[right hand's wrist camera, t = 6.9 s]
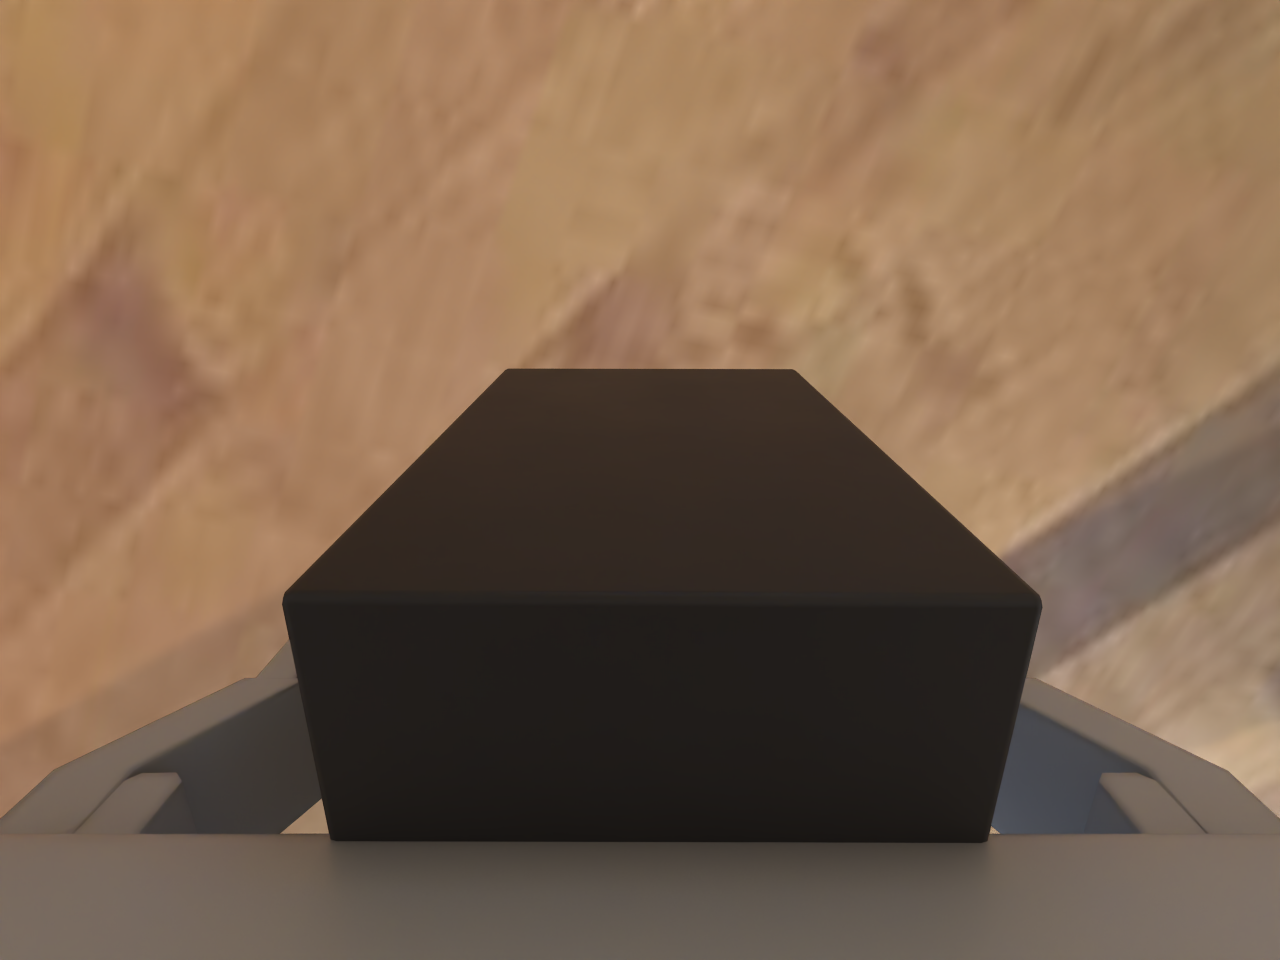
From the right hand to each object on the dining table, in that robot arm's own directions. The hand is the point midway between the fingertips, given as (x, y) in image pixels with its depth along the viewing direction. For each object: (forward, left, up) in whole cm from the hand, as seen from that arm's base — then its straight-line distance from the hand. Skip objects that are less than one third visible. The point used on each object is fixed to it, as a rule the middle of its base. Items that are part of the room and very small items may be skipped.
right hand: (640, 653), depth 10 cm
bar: (-10, +2, -3) cm, 11 cm away
